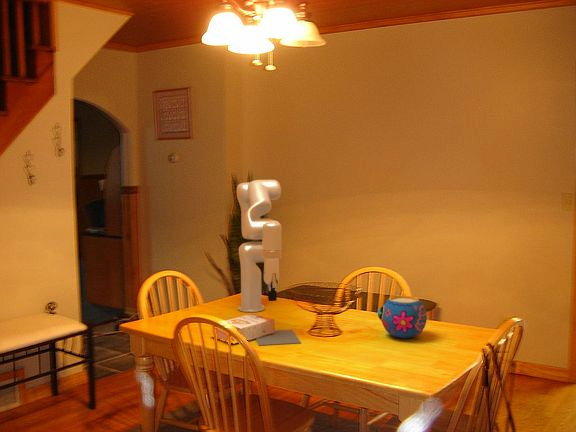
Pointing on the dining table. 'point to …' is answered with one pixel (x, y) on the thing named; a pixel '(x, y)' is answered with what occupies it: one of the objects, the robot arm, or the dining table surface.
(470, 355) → the dining table surface
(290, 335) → the mat
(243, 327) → the cracker box
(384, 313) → the ceramic pot
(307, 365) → the dining table surface
